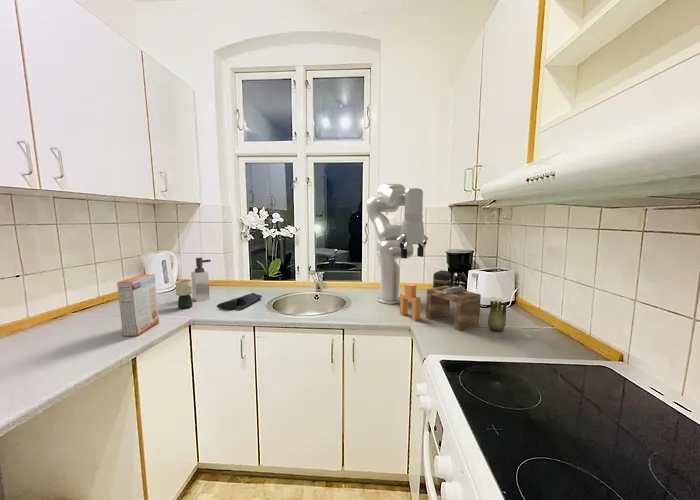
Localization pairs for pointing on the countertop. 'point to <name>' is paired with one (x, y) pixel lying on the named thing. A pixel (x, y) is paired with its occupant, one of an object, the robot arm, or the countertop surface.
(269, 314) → the countertop surface
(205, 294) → the soap dispenser
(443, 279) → the coffee jar
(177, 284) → the character mug
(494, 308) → the fennel bulb
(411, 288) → the orange stepped arch block
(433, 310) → the small wooden table
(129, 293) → the cracker box
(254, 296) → the dark slate chunk
